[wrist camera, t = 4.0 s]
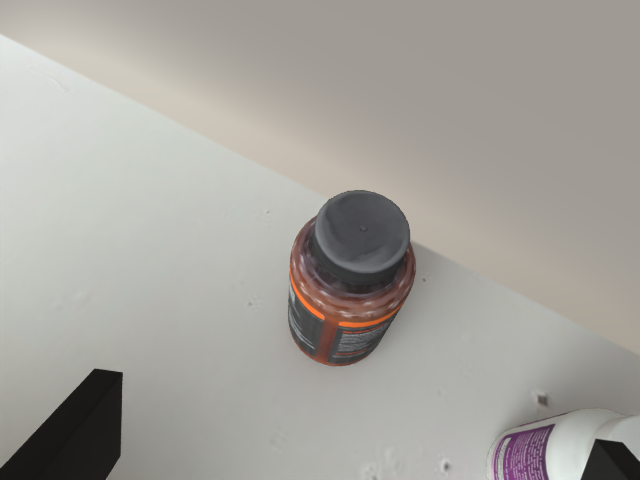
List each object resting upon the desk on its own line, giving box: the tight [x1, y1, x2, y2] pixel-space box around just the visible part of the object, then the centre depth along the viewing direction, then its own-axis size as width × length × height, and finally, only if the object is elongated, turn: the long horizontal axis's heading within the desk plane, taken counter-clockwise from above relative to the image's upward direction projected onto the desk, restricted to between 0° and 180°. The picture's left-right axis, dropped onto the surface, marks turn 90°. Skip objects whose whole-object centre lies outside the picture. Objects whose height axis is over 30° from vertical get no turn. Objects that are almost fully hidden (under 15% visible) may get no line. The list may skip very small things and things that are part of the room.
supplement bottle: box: [288, 190, 416, 366], centre depth 23 cm, size 6×6×11 cm
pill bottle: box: [487, 408, 640, 480], centre depth 20 cm, size 5×5×10 cm
